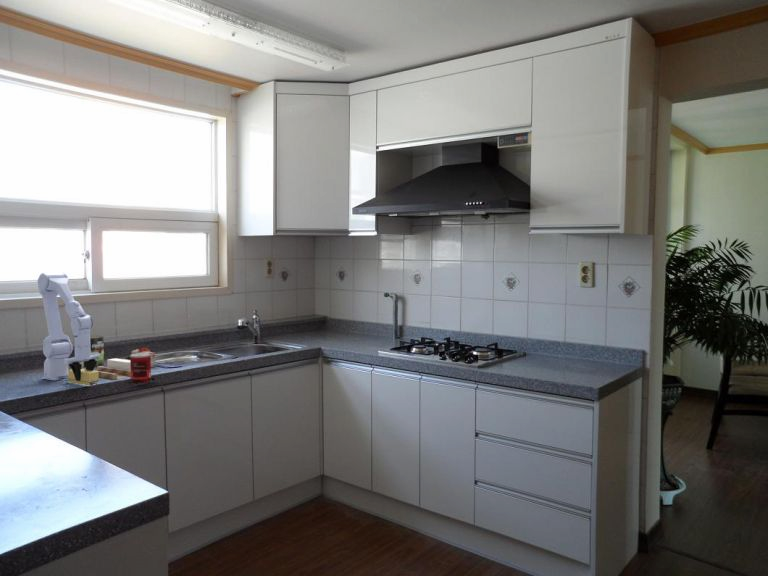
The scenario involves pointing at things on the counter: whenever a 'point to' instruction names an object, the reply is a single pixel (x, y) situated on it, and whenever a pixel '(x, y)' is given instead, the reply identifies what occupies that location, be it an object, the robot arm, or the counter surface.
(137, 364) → the canned food
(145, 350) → the food item
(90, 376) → the pale yellow bar
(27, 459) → the counter surface
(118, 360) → the white bar
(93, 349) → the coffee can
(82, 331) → the robot arm
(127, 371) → the slot board
